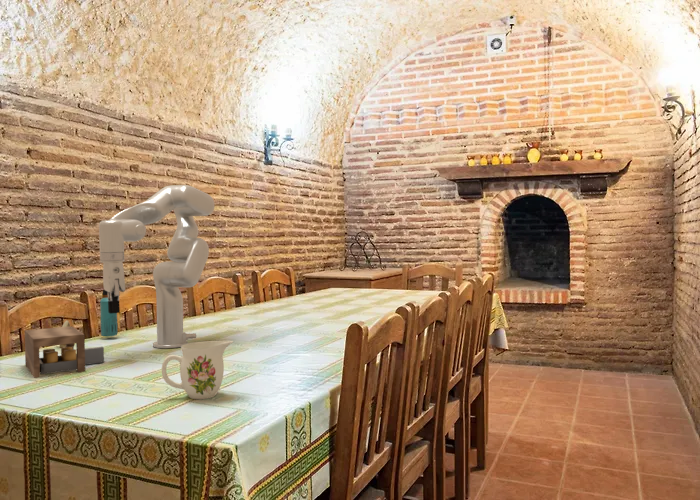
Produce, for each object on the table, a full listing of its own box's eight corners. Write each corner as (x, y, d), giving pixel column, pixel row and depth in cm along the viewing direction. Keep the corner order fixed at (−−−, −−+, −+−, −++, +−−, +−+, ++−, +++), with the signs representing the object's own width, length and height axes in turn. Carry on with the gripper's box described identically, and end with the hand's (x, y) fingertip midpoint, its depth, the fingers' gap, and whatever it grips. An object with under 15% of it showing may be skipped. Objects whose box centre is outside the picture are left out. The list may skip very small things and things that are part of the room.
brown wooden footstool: (72, 360, 201) (72, 326, 201) (85, 371, 184) (84, 334, 184) (25, 365, 193) (24, 330, 193) (34, 377, 176) (33, 339, 176)
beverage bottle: (111, 340, 238) (111, 290, 237) (97, 339, 239) (95, 289, 239) (121, 337, 244) (120, 288, 244) (106, 337, 246) (105, 288, 245)
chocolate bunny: (52, 347, 224) (51, 320, 224) (70, 343, 231) (70, 318, 231) (62, 348, 222) (61, 321, 221) (80, 345, 229) (79, 318, 228)
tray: (99, 360, 201) (99, 342, 201) (107, 366, 192) (107, 347, 192) (36, 368, 190) (35, 349, 190) (41, 374, 181) (41, 355, 181)
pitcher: (163, 393, 158) (162, 341, 158) (232, 388, 163) (231, 337, 163) (161, 404, 148) (160, 349, 147) (235, 398, 152) (234, 345, 152)
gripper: (130, 258, 194) (131, 314, 195) (118, 256, 206) (120, 309, 207) (105, 259, 190) (107, 316, 191) (95, 257, 202) (96, 311, 203)
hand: (114, 312), depth 199 cm, fingers closed
